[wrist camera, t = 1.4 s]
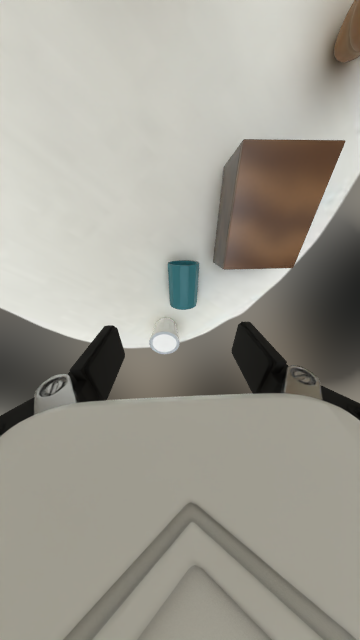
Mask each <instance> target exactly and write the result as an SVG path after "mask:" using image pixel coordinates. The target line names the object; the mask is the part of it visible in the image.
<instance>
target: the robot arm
mask: <svg viewBox="0 0 360 640" xmlns="http://www.w3.org/2000/svg"><path fill="white" fill-rule="evenodd" d="M232 354H233V356H234V358H235V360H236V362H237V364H238V366H239V368H240V370H241V372H242V374H243V376H244V378H245V379H246V381H247V383H248V385H249V387H250V389H251V391H252V393H253V394H230V395H206V396H185V397H184V396H182V397H161V398H141V399H120V400H107V398H108V396H109V393H110V391H111V388H112V386H113V384H114V381H115V379H116V377H117V374H118V372H119V369H120V367H121V364H122V362H123V360H124V357H125V353H124V349H123V346H122V343H121V339H120V336H119V333H118V329H117V328H116V327H114V326H104V328H103V329H102V330H101V331H100V333H99V334H98V335H97V336H96V338H95V339H94V340H93V341H92V343H91V344H90V345H89V346H88V348H87V349H86V350H85V352H84V353H83V354H82V356H80V358H79V359H78V360H77V362H76V363H75V364H74V365H73V367H72V368H71V369H70V372H69V373H68V375H67V374H61V375H56V376H54V377H52V378H50V379H48V380H46V381H45V382H44V383H43V384H41V385H40V386H39V387H38V389H37V390H36V392H35V397H34V398H32V399H30V400H28V401H27V402H25V403H23V404H21V405H19V406H17V407H16V408H14V409H12V410H10V411H8V412H7V413H5V414H3V415H1V416H0V640H360V403H358V402H355V401H353V400H351V399H349V398H347V397H344V396H343V395H340V394H338V393H336V392H334V391H332V390H330V389H328V388H325V387H323V386H321V385H320V381H319V379H318V378H317V376H316V375H314V374H313V373H312V372H311V371H309V370H307V369H305V368H303V367H300V366H296V365H291V366H288V365H287V364H286V363H287V362H286V361H285V359H284V358H283V357H282V356H281V355H280V354H279V353H278V352H277V351H276V350H275V349H274V347H272V345H271V344H270V343H269V342H268V341H267V340H266V339H265V338H264V337H263V336H262V334H261V333H260V332H259V331H258V330H257V329H256V328H255V327H254V326H253V325H252V324H251V323H250V322H241V323H240V324H239V325H238V328H237V332H236V336H235V339H234V343H233V347H232ZM104 400H105V401H104Z"/></svg>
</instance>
